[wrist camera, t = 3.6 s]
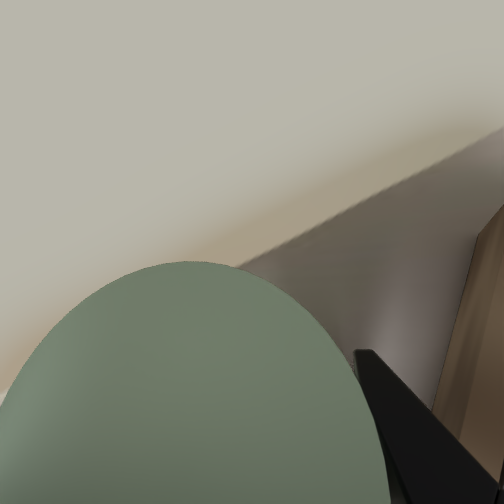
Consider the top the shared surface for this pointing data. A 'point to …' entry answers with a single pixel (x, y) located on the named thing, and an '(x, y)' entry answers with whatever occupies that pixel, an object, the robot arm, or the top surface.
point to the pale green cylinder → (189, 401)
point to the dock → (478, 356)
